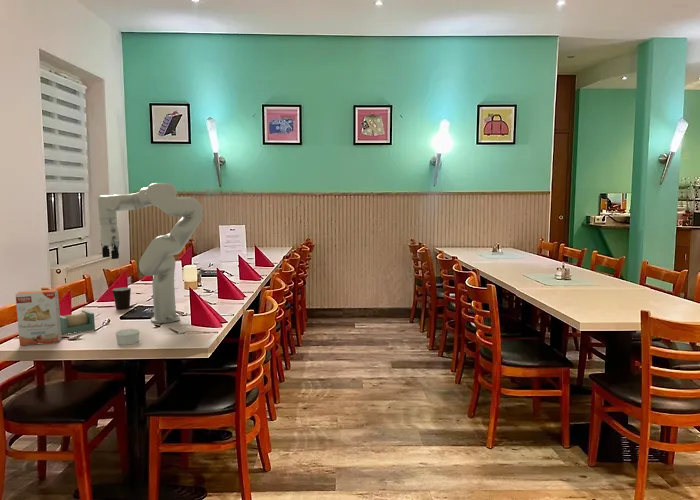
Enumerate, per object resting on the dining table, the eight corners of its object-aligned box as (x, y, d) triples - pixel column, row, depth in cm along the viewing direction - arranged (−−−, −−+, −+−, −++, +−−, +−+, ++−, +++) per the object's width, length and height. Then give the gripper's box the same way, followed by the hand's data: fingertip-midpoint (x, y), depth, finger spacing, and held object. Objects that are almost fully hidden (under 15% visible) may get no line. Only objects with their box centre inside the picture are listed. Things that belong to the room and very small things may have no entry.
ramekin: (143, 339, 223) (142, 328, 222) (135, 345, 214) (134, 334, 213) (121, 339, 222) (120, 329, 222) (112, 345, 214) (111, 335, 213)
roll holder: (95, 328, 240) (93, 313, 239) (65, 334, 231) (63, 318, 230) (85, 325, 247) (84, 309, 246) (56, 330, 238) (54, 315, 237)
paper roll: (82, 324, 244) (81, 311, 243) (88, 326, 240) (87, 313, 239) (63, 328, 238) (62, 314, 237) (68, 330, 234) (67, 316, 233)
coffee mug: (127, 310, 276) (126, 290, 275) (110, 310, 276) (109, 290, 275) (137, 305, 287) (135, 286, 286) (120, 305, 288) (119, 286, 287)
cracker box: (19, 346, 215) (14, 293, 212) (23, 342, 221) (19, 291, 218) (58, 342, 219) (54, 291, 216) (62, 339, 225) (58, 288, 222)
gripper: (124, 221, 254) (126, 258, 256) (108, 220, 266) (110, 255, 268) (108, 222, 248) (110, 260, 250) (92, 221, 260) (94, 257, 262)
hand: (110, 257), depth 259 cm, fingers open, 9 cm apart
